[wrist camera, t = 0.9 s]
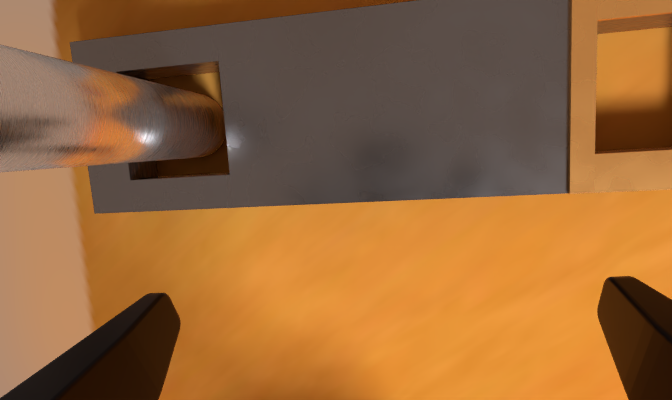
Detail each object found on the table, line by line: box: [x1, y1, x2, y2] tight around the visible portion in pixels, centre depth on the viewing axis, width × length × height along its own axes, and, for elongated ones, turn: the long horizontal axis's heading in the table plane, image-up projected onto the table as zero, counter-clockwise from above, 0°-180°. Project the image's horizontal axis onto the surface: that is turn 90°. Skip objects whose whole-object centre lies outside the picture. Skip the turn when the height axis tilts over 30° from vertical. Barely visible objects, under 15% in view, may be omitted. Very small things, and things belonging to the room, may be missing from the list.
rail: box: [70, 0, 672, 213], centre depth 20 cm, size 33×9×3 cm, turn 94°
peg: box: [0, 45, 226, 172], centre depth 16 cm, size 4×4×14 cm
